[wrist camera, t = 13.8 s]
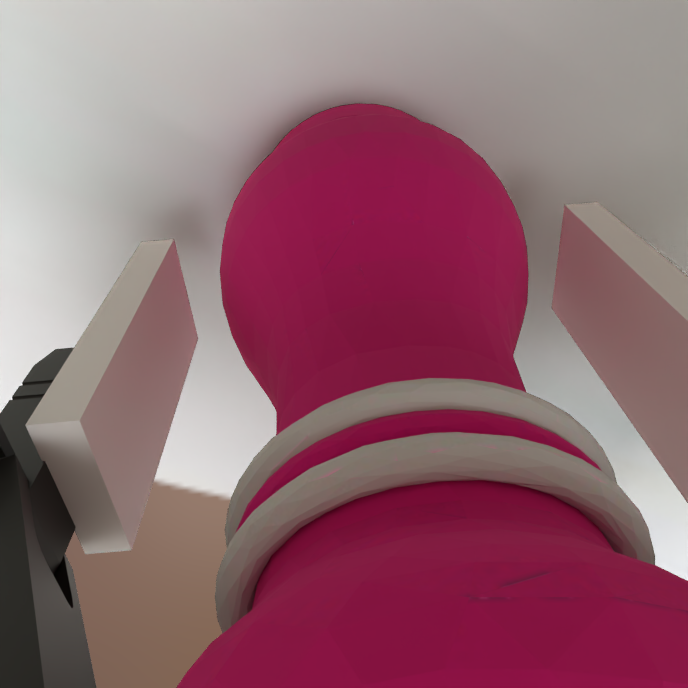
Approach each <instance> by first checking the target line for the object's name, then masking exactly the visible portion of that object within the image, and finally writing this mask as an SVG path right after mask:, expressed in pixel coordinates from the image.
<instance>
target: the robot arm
mask: <svg viewBox="0 0 688 688" xmlns="http://www.w3.org/2000/svg"><path fill="white" fill-rule="evenodd" d="M552 309H553V311H554V312H555V314H556V315H557V317H558V318H559V319H560V321H561V322H562V324H563V325H564V327H565V328H566V329H567V331H568V332H569V334H570V335H571V337H572V338H573V339H574V341H575V342H576V344H577V345H578V347H579V348H580V349H581V351H582V352H583V354H584V355H585V357H586V358H587V360H588V361H589V362H590V364H591V365H592V367H593V368H594V370H595V371H596V372H597V374H598V375H599V377H600V378H601V380H602V381H603V382H604V384H605V385H606V387H607V388H608V390H609V391H610V392H611V394H612V395H613V397H614V398H615V400H616V401H617V402H618V404H619V405H620V407H621V408H622V410H623V411H624V413H625V414H626V415H627V417H628V418H629V420H630V421H631V423H632V424H633V425H634V427H635V428H636V430H637V431H638V433H639V434H640V435H641V437H642V438H643V440H644V441H645V443H646V444H647V445H648V447H649V448H650V450H651V451H652V453H653V454H654V455H655V457H656V458H657V460H658V461H659V463H660V464H661V466H662V467H663V468H664V470H665V471H666V473H667V474H668V476H669V477H670V478H671V480H672V481H673V483H674V484H675V486H676V487H677V488H678V490H679V491H680V493H681V494H682V496H683V497H684V498H685V500H686V501H687V503H688V276H687V275H685V274H684V273H683V272H682V271H680V270H679V269H678V268H677V267H676V266H674V265H673V264H672V263H671V262H670V261H668V260H667V259H666V258H665V257H664V256H662V255H661V254H660V253H659V252H657V251H656V250H655V249H654V248H653V247H651V246H650V245H649V244H648V243H647V242H645V241H644V240H643V239H642V238H641V237H639V236H638V235H637V234H636V233H634V232H633V231H632V230H631V229H630V228H628V227H627V226H626V225H625V224H624V223H622V222H621V221H620V220H619V219H617V218H616V217H615V216H614V215H613V214H611V213H610V212H609V211H608V210H607V209H605V208H604V207H603V206H602V205H601V204H599V203H598V202H591V203H579V204H568V205H565V206H564V214H563V222H562V230H561V237H560V245H559V253H558V261H557V269H556V277H555V285H554V293H553V301H552ZM197 341H198V336H197V332H196V328H195V324H194V320H193V316H192V312H191V307H190V303H189V299H188V295H187V291H186V287H185V283H184V279H183V274H182V270H181V266H180V262H179V258H178V254H177V250H176V246H175V242H174V239H168V240H157V241H145V242H141V243H140V245H139V246H138V248H137V249H136V251H135V253H134V254H133V256H132V257H131V259H130V261H129V262H128V264H127V265H126V267H125V268H124V270H123V272H122V273H121V275H120V276H119V278H118V279H117V281H116V283H115V284H114V286H113V287H112V289H111V291H110V292H109V294H108V295H107V297H106V298H105V300H104V302H103V303H102V305H101V306H100V308H99V309H98V311H97V313H96V314H95V316H94V317H93V319H92V321H91V322H90V324H89V325H88V327H87V328H86V330H85V332H84V333H83V335H82V336H81V338H80V339H79V341H78V343H77V344H76V346H75V347H74V348H65V349H55V350H54V351H53V352H51V353H50V354H49V355H47V356H46V357H45V358H43V359H42V360H41V361H39V362H38V363H37V364H35V365H34V367H33V368H32V369H31V371H30V372H29V374H28V375H27V376H26V378H25V379H24V381H23V382H22V383H23V386H19V388H18V389H17V391H16V392H15V393H14V395H13V396H12V398H13V400H10V401H9V402H8V403H7V405H6V406H5V408H4V409H3V410H2V412H1V413H0V688H96V684H95V679H94V674H93V669H92V664H91V659H90V654H89V649H88V644H87V639H86V634H85V629H84V624H83V619H82V614H81V609H80V604H79V599H78V594H77V589H76V584H75V579H74V574H73V569H72V567H71V565H70V563H69V561H68V559H67V557H66V555H65V552H66V549H67V547H68V544H69V542H70V540H71V537H72V535H73V533H74V531H75V533H76V535H77V537H78V539H79V541H80V543H81V546H82V548H83V550H84V552H85V554H92V553H104V552H116V551H127V550H132V548H133V544H134V541H135V538H136V535H137V532H138V529H139V525H140V522H141V519H142V516H143V513H144V509H145V506H146V503H147V500H148V497H149V494H150V490H151V487H152V484H153V481H154V478H155V474H156V471H157V468H158V465H159V462H160V459H161V455H162V452H163V449H164V446H165V443H166V439H167V436H168V433H169V430H170V427H171V424H172V420H173V417H174V414H175V411H176V408H177V404H178V401H179V398H180V395H181V392H182V389H183V385H184V382H185V379H186V376H187V373H188V369H189V366H190V363H191V360H192V357H193V354H194V350H195V347H196V344H197Z"/></svg>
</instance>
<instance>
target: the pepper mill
mask: <svg viewBox="0 0 688 688" xmlns="http://www.w3.org/2000/svg"><path fill="white" fill-rule="evenodd" d="M220 277H221V289H222V301H223V306H224V310H225V313H226V317H227V320H228V323H229V327H230V330H231V333H232V336H233V338H234V341H235V343H236V345H237V347H238V349H239V351H240V353H241V355H242V357H243V359H244V361H245V364H246V365H247V367H248V368H249V370H250V371H251V373H252V374H253V376H254V377H255V378H256V380H257V381H258V383H259V384H260V386H261V387H262V388H263V390H264V391H265V393H266V394H267V396H268V397H269V399H270V400H271V402H272V404H273V406H274V407H275V409H276V412H277V434H276V436H275V437H273V438H272V439H271V440H270V441H269V442H268V443H267V445H266V446H265V447H264V448H263V449H262V450H261V451H260V452H259V453H258V454H257V455H256V456H255V457H254V459H253V460H252V462H251V463H250V465H249V466H248V468H247V469H246V471H245V472H244V474H243V475H242V477H241V478H240V480H239V482H238V484H237V486H236V488H235V491H234V493H233V495H232V497H231V501H230V504H229V508H228V513H227V519H226V527H225V535H226V545H227V550H226V553H225V555H224V558H223V560H222V562H221V565H220V568H219V571H218V575H217V580H216V581H217V582H216V593H215V600H216V610H217V618H218V622H219V625H220V627H221V630H222V633H223V634H221V635H220V636H219V637H218V638H217V639H215V640H214V641H213V642H212V643H211V644H210V645H209V646H208V647H207V649H206V650H205V651H204V652H203V654H202V655H201V656H200V657H199V658H198V660H197V661H196V662H195V663H194V664H193V666H192V667H191V668H190V669H189V670H188V672H187V673H186V675H185V676H184V677H183V679H182V680H181V682H180V683H179V685H178V686H177V688H688V581H687V580H685V579H682V578H680V577H678V576H676V575H674V574H672V573H670V572H668V571H666V570H664V569H662V568H660V567H658V566H656V565H655V554H654V550H653V546H652V542H651V538H650V534H649V530H648V527H647V525H646V523H645V521H644V519H643V517H642V515H641V513H640V511H639V509H638V508H637V507H636V506H635V505H634V503H633V502H632V501H631V500H630V499H629V498H628V496H627V495H626V494H625V493H624V492H623V490H622V489H621V488H620V487H619V486H618V485H617V482H616V478H615V474H614V471H613V468H612V466H611V464H610V462H609V460H608V458H607V456H606V454H605V453H604V451H603V449H602V447H601V446H600V445H599V444H598V442H597V441H596V440H595V439H594V437H593V436H592V435H591V433H590V432H589V431H588V430H587V429H585V428H584V427H583V426H582V425H581V424H580V423H578V422H577V421H576V420H575V419H574V418H573V417H572V416H570V415H569V414H568V413H566V412H564V411H563V410H561V409H559V408H557V407H556V406H554V405H552V404H551V403H549V402H547V401H544V400H542V399H540V398H538V397H535V396H533V395H531V394H529V393H526V390H525V387H524V385H523V382H522V379H521V377H520V374H519V371H518V369H517V366H516V363H515V361H514V358H513V354H514V351H515V347H516V344H517V340H518V337H519V334H520V330H521V327H522V323H523V319H524V315H525V310H526V306H527V296H528V259H527V247H526V242H525V237H524V232H523V227H522V224H521V222H520V219H519V217H518V215H517V212H516V210H515V207H514V205H513V203H512V201H511V199H510V197H509V196H508V194H507V192H506V190H505V188H504V186H503V185H502V183H501V181H500V180H499V179H498V177H497V176H496V175H495V173H494V172H493V171H492V169H491V168H490V167H489V166H488V164H487V163H486V162H485V160H484V159H483V158H482V157H481V156H479V155H478V154H477V153H476V152H475V151H474V150H472V149H471V148H470V147H469V146H468V145H466V144H465V143H464V142H463V141H462V140H461V139H459V138H457V137H455V136H453V135H451V134H449V133H447V132H445V131H444V130H442V129H440V128H438V127H436V126H434V125H431V124H429V123H425V122H422V121H419V120H418V119H417V118H415V117H413V116H411V115H409V114H407V113H405V112H403V111H400V110H397V109H394V108H391V107H387V106H382V105H377V104H351V105H343V106H339V107H334V108H330V109H328V110H325V111H323V112H320V113H318V114H315V115H313V116H312V117H310V118H308V119H307V120H305V121H303V122H302V123H300V124H299V125H298V126H296V127H295V128H294V129H292V130H291V131H290V132H289V133H288V134H287V135H286V136H285V137H284V138H283V139H282V140H281V141H280V143H279V144H278V145H277V147H276V148H275V149H274V151H273V152H272V153H271V154H270V155H269V156H268V157H267V158H266V159H265V160H264V161H263V162H262V163H261V164H260V165H259V166H258V167H257V168H256V170H255V171H254V172H253V173H252V174H251V176H250V177H249V178H248V180H247V181H246V183H245V184H244V186H243V188H242V189H241V191H240V193H239V195H238V196H237V198H236V200H235V202H234V204H233V207H232V210H231V212H230V215H229V218H228V220H227V224H226V229H225V234H224V239H223V244H222V255H221V265H220Z"/></svg>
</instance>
